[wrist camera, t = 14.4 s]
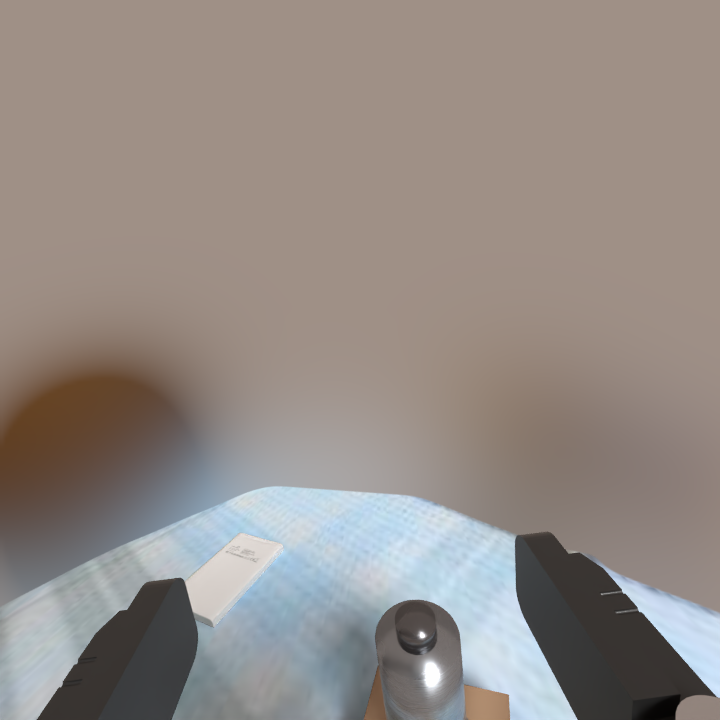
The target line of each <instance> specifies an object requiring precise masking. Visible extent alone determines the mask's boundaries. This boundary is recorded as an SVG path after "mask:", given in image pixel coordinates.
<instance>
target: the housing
mask: <svg viewBox="0 0 720 720" xmlns="http://www.w3.org/2000/svg"><path fill="white" fill-rule="evenodd" d="M375 642H376V649H377V656H378V663H379V670H380V677H381V684H382V691H383V699H384V706H385V713H386V720H468V718H467V717H466V705H465V692H464V680H463V668H462V655H461V643H460V634H459V630H458V627H457V625H456V623H455V621H454V620H453V618H452V617H451V616H450V614H449V613H448V612H447V611H445V610H444V609H443V608H441V607H440V606H438V605H436V604H434V603H431V602H428V601H424V600H408V601H404V602H401V603H398V604H396V605H394V606H393V607H391V608H390V609H389V610H388V611H386V613H385V614H384V615H383V616H382V618H381V619H380V621H379V623H378V626H377V629H376V635H375Z"/></svg>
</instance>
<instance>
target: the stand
mask: <svg viewBox="0 0 720 720" xmlns="http://www.w3.org/2000/svg"><path fill="white" fill-rule="evenodd" d="M464 692H465V705H466V717H467V718H468V720H510V710H509V695H507V694H503V693H499V692H494V691H490V690H485V689H481V688H477V687H472V686H468V685H464ZM364 720H386V713H385V706H384V699H383V691H382V684H381V677H380V670H379V665H378V668H377V671H376V675H375V679H374V683H373V687H372V690H371V694H370V698H369V702H368V705H367V709H366V713H365V717H364Z"/></svg>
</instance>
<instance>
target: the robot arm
mask: <svg viewBox="0 0 720 720" xmlns="http://www.w3.org/2000/svg"><path fill="white" fill-rule="evenodd" d="M515 563H516V592H517V597H518V601H519V605H520V608H521V611H522V613H523V616H524V618H525V620H526V622H527V624H528V626H529V628H530V630H531V632H532V634H533V635H534V637H535V639H536V641H537V643H538V645H539V647H540V649H541V651H542V653H543V654H544V656H545V658H546V660H547V662H548V664H549V666H550V668H551V670H552V672H553V674H554V675H555V677H556V679H557V681H558V683H559V685H560V687H561V689H562V691H563V693H564V694H565V696H566V698H567V700H568V702H569V704H570V706H571V708H572V710H573V712H574V714H575V715H576V717H577V719H578V720H720V698H718V697H716V696H715V695H714V693H713V692H712V691H711V690H710V689H709V688H708V687H707V686H706V685H705V684H704V683H703V681H702V680H701V679H700V678H699V677H698V676H697V675H696V674H695V672H694V671H693V670H692V669H691V668H690V667H689V666H688V664H687V663H686V662H685V661H684V660H683V659H682V658H681V656H680V655H679V654H678V653H677V652H676V651H675V650H674V648H673V647H672V646H671V645H670V644H669V643H668V642H667V641H666V639H665V638H664V637H663V636H662V635H661V634H660V633H659V631H658V630H657V629H656V628H655V627H654V626H653V625H652V623H651V622H650V621H649V620H648V619H647V618H646V617H645V615H644V614H643V613H642V612H639V611H638V608H637V606H636V605H635V604H634V603H633V602H632V601H631V600H630V598H629V597H628V596H627V595H626V594H623V592H622V589H621V588H620V587H619V586H618V585H617V584H616V582H615V581H614V580H613V579H612V578H611V577H610V576H609V575H608V573H607V572H606V571H605V570H604V569H603V568H602V567H600V566H599V565H597V564H596V563H594V562H593V561H591V560H590V559H588V558H587V557H585V556H584V555H582V554H581V553H572V554H568V553H567V551H566V550H565V549H564V548H563V547H562V545H561V544H560V543H559V541H558V540H557V539H556V538H555V536H554V535H553V534H552V533H550V532H541V533H534V534H526V535H518V536H517V537H516V539H515ZM197 643H198V632H197V626H196V622H195V618H194V614H193V611H192V607H191V603H190V599H189V595H188V592H187V588H186V584H185V582H184V580H183V579H182V578H174V579H167V580H159V581H151V582H147V583H145V584H144V585H143V586H142V588H141V589H140V591H139V592H138V594H137V595H136V597H135V598H134V600H133V602H132V603H131V605H130V606H129V608H128V609H127V610H122V611H119V612H118V613H117V614H116V615H115V616H114V617H113V618H112V619H111V620H110V621H108V622H107V623H106V624H105V625H104V626H103V627H102V628H101V629H100V630H99V631H98V632H97V633H96V634H95V635H94V637H93V638H92V640H91V641H90V643H89V644H88V646H87V647H86V649H85V650H84V652H83V653H82V654H81V656H80V657H79V659H78V663H77V664H75V665H74V666H73V668H72V669H71V671H70V672H69V673H68V675H67V676H66V678H65V679H64V681H63V685H62V687H60V688H58V689H57V691H56V692H55V694H54V695H53V697H52V698H51V700H50V701H49V703H48V704H47V706H46V707H45V708H44V710H43V711H42V713H41V714H40V716H39V717H38V719H37V720H171V719H172V717H173V714H174V712H175V709H176V706H177V704H178V701H179V699H180V696H181V693H182V691H183V688H184V686H185V683H186V680H187V678H188V675H189V673H190V670H191V667H192V665H193V662H194V659H195V655H196V651H197Z"/></svg>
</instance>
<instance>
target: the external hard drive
mask: <svg viewBox="0 0 720 720" xmlns="http://www.w3.org/2000/svg"><path fill="white" fill-rule="evenodd" d="M283 551H284V548H283V545H282V544H280V543H277V542H273V541H269V540H265V539H262V538H258V537H255V536H251V535H247V534H244V533H239V534H238V535H237V536H236V537H235V538H233V539H232V540H231V541H230V542H229V543H228V544H227V545H226V546H224V547H223V548H222V549H221V550H220V551H219V552H218V553H216V554H215V555H214V556H213V557H212V558H211V559H210V560H208V561H207V562H206V563H205V564H204V565H203V566H202V567H201V568H199V569H198V570H197V571H196V572H195V573H194V574H193V575H191V576H190V577H189V578H188V579H187V580H186V581H185V584H186V588H187V592H188V595H189V599H190V603H191V607H192V611H193V614H194V618H195V619H196V620H198V621H200V622H202V623H204V624H207V625H209V626H211V627H213V628H214V627H215V626H216V625H217V624H218V623H219V622H220V620H221V619H222V618H223V617H224V616H225V615H226V614H227V613H228V612H229V610H230V609H231V608H232V607H233V606H234V605H235V604H236V603H237V602H238V600H239V599H240V598H241V597H242V596H243V595H244V594H245V593H246V592H247V591H248V589H249V588H250V587H251V586H252V585H253V584H254V583H255V582H256V581H257V579H258V578H259V577H260V576H261V575H262V574H263V573H264V572H265V571H266V569H267V568H268V567H269V566H270V565H271V564H272V563H273V562H274V561H275V560H276V558H277V557H278V556H279V555H280V554H281V553H282V552H283Z"/></svg>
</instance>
